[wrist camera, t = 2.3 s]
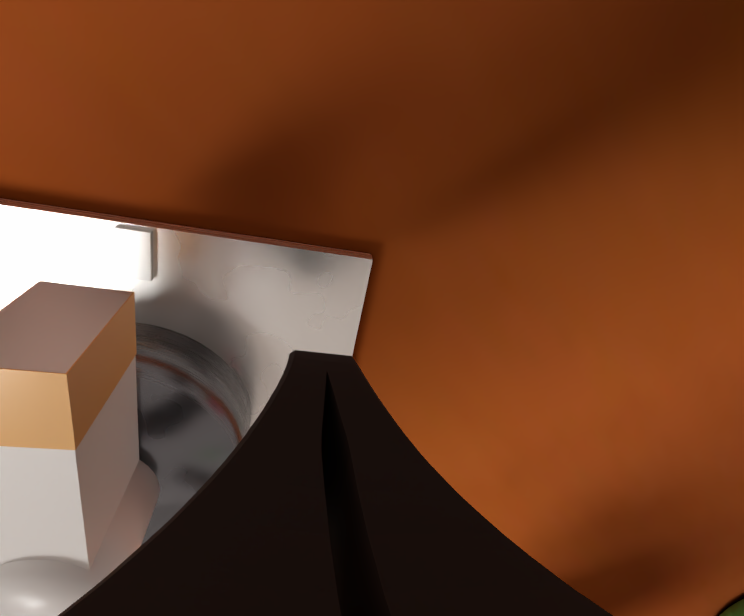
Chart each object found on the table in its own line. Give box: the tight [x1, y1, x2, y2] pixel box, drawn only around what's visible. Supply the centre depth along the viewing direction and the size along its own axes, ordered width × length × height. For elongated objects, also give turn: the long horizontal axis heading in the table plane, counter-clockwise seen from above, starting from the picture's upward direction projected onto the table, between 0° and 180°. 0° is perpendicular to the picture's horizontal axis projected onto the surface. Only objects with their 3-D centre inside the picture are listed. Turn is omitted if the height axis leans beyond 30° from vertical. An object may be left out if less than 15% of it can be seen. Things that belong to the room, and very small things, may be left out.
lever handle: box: [0, 281, 160, 616], centre depth 10 cm, size 7×3×3 cm, turn 169°
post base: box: [0, 198, 373, 545], centre depth 14 cm, size 13×13×3 cm
